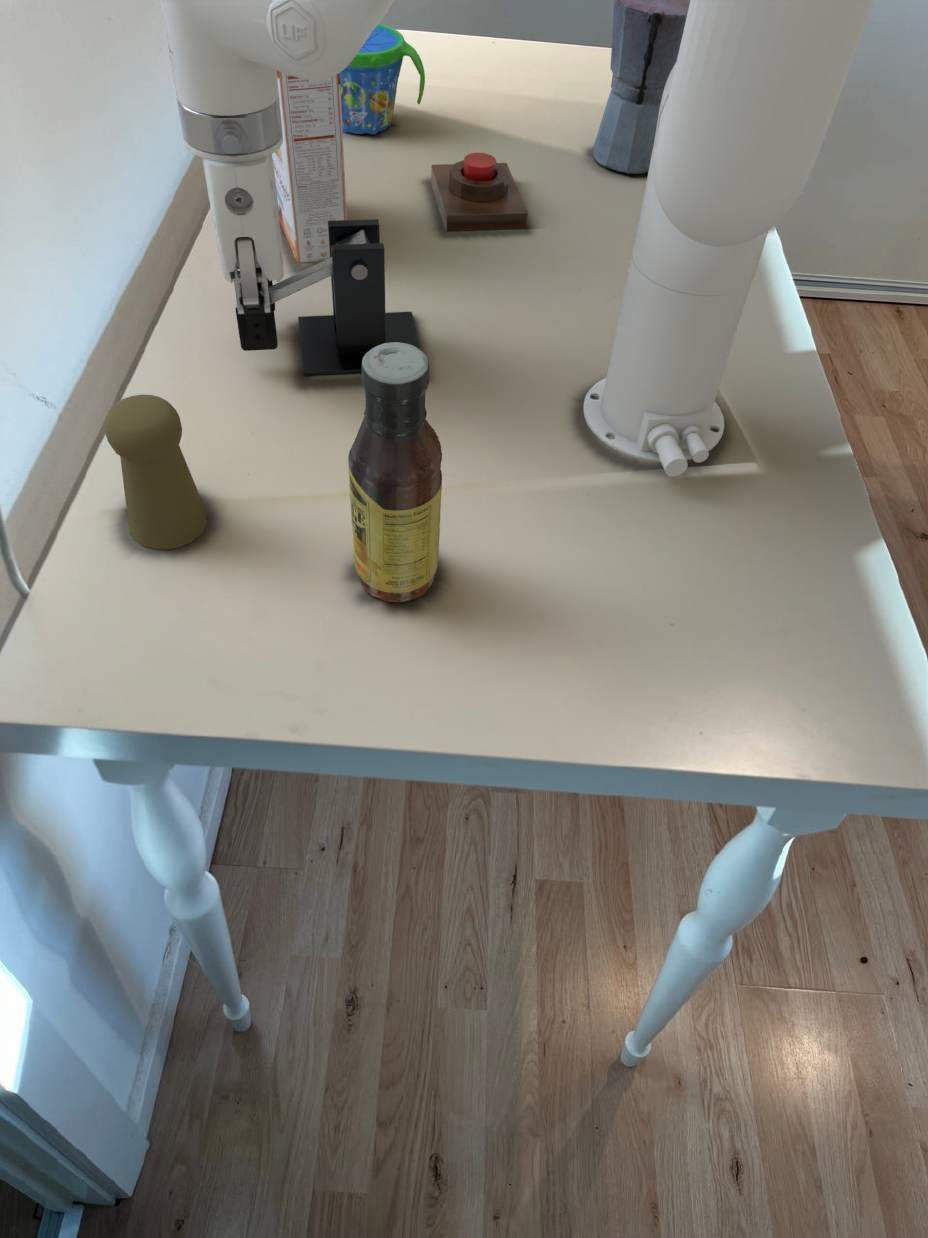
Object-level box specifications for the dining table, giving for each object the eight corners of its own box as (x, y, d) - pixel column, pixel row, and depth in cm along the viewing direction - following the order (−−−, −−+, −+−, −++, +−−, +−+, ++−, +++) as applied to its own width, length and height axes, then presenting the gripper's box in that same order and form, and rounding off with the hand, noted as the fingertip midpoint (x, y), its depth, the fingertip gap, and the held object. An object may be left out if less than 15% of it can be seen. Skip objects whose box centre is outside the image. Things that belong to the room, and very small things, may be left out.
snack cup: (431, 115, 123) (433, 28, 115) (412, 151, 116) (413, 61, 109) (316, 99, 125) (311, 12, 117) (291, 133, 118) (283, 43, 110)
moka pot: (664, 138, 122) (702, -42, 107) (669, 195, 113) (711, 5, 97) (591, 131, 123) (618, -50, 107) (589, 187, 113) (619, -4, 97)
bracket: (304, 384, 86) (293, 264, 77) (299, 328, 91) (287, 210, 82) (424, 377, 87) (426, 259, 78) (411, 322, 93) (412, 206, 84)
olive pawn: (207, 492, 76) (183, 379, 68) (207, 546, 72) (182, 433, 64) (130, 498, 75) (96, 384, 67) (126, 552, 72) (89, 439, 63)
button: (497, 182, 105) (499, 166, 103) (465, 183, 104) (466, 167, 103) (491, 167, 107) (493, 151, 106) (460, 168, 106) (461, 152, 105)
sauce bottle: (362, 543, 73) (353, 318, 58) (442, 551, 73) (453, 329, 58) (347, 606, 69) (332, 383, 54) (431, 616, 69) (440, 394, 54)
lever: (258, 331, 83) (243, 310, 81) (256, 300, 86) (242, 278, 84) (379, 273, 81) (367, 250, 79) (373, 243, 84) (361, 220, 82)
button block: (525, 232, 105) (529, 197, 102) (446, 234, 104) (447, 199, 101) (505, 180, 113) (508, 146, 110) (431, 182, 111) (431, 148, 108)
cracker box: (269, 206, 106) (245, -7, 90) (321, 201, 107) (308, -10, 91) (294, 272, 98) (273, 50, 81) (351, 265, 99) (341, 45, 83)
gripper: (286, 172, 67) (306, 384, 81) (277, 74, 78) (295, 276, 92) (177, 175, 66) (216, 389, 80) (183, 75, 76) (216, 280, 90)
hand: (258, 327), depth 86 cm, fingers closed on lever, 5 cm apart
